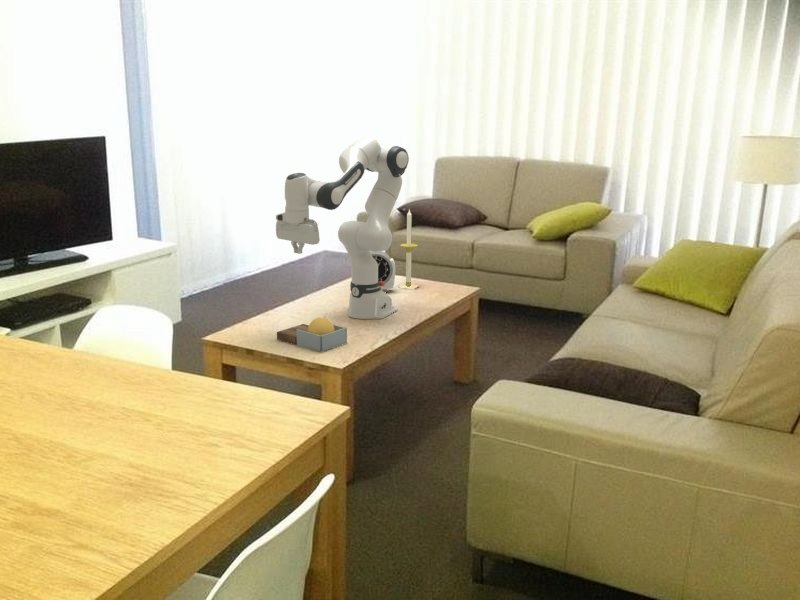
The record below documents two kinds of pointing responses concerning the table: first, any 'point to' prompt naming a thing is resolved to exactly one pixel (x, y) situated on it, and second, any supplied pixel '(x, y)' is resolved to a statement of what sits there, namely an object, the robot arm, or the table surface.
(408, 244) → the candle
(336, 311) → the table surface
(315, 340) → the tray
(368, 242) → the robot arm
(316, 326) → the ball
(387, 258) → the alarm clock
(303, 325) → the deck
